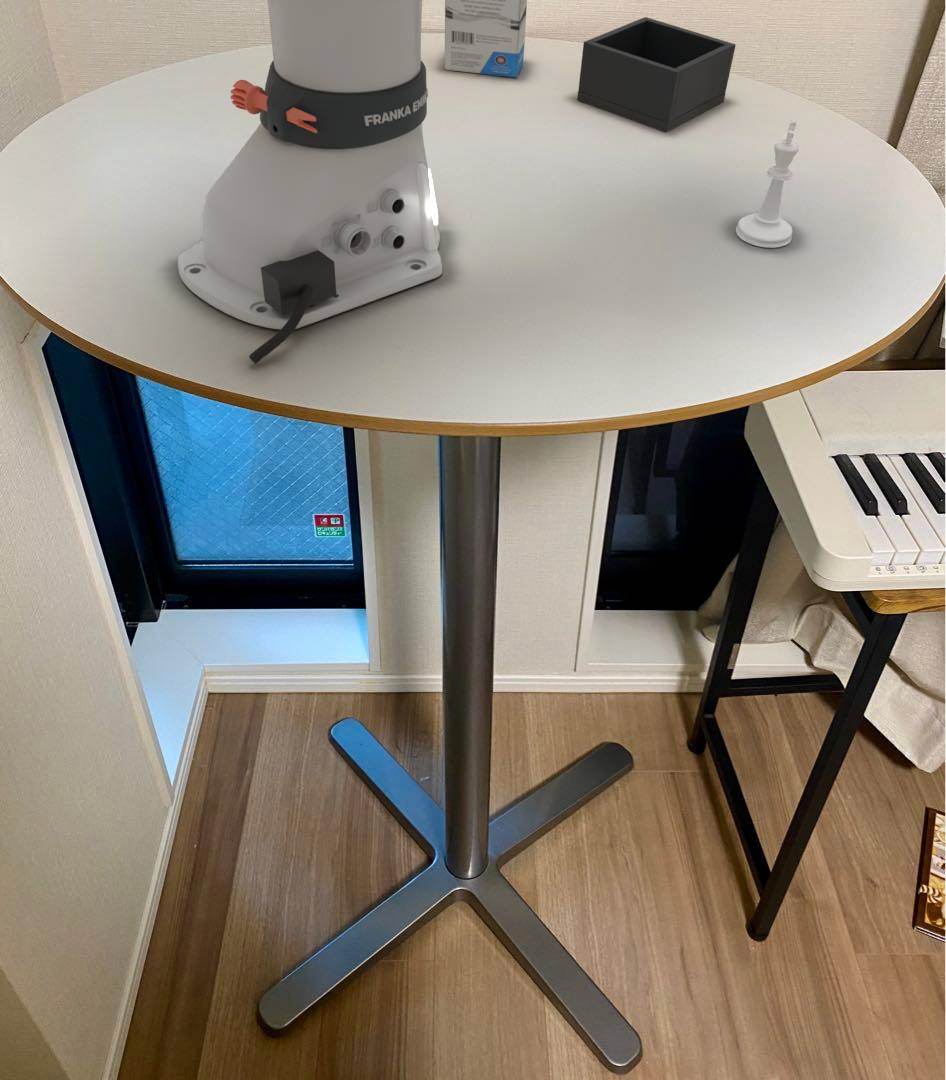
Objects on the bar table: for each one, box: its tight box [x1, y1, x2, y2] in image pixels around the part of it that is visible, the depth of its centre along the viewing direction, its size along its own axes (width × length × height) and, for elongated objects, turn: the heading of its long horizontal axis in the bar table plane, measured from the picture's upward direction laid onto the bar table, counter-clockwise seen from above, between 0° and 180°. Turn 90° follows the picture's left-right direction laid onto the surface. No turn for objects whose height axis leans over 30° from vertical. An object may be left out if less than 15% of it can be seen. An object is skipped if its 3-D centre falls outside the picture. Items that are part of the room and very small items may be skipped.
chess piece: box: [735, 120, 800, 249], centre depth 85 cm, size 5×5×10 cm
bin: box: [576, 16, 736, 133], centre depth 107 cm, size 12×12×6 cm
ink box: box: [444, 0, 528, 78], centre depth 110 cm, size 9×5×12 cm, turn 77°
